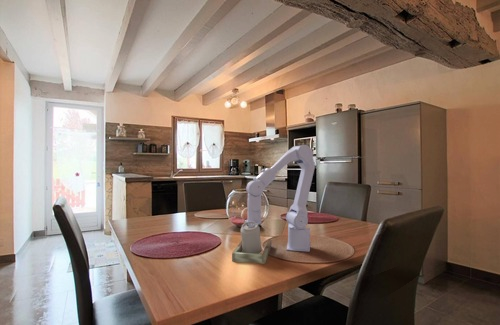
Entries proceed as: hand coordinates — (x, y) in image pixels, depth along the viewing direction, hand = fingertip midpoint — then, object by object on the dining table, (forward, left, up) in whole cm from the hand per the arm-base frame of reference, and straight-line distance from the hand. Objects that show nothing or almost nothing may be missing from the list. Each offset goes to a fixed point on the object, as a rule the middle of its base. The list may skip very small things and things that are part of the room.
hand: (254, 243), depth 109 cm
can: (0, +4, -3) cm, 4 cm away
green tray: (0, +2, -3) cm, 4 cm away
